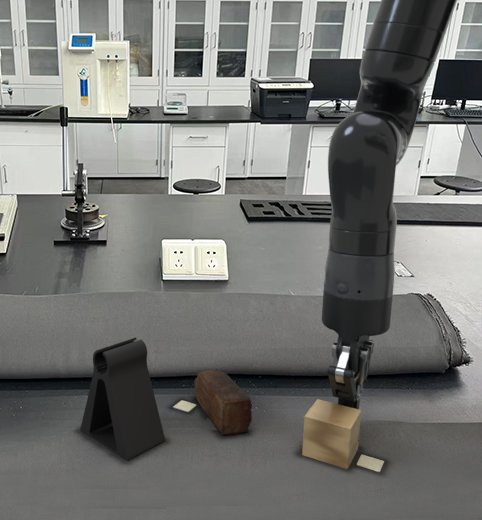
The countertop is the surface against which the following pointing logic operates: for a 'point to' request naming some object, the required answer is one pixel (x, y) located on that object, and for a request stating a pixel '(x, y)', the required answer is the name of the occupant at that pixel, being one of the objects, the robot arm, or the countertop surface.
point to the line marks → (363, 462)
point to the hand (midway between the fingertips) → (347, 423)
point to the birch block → (331, 433)
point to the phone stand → (122, 401)
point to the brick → (223, 402)
